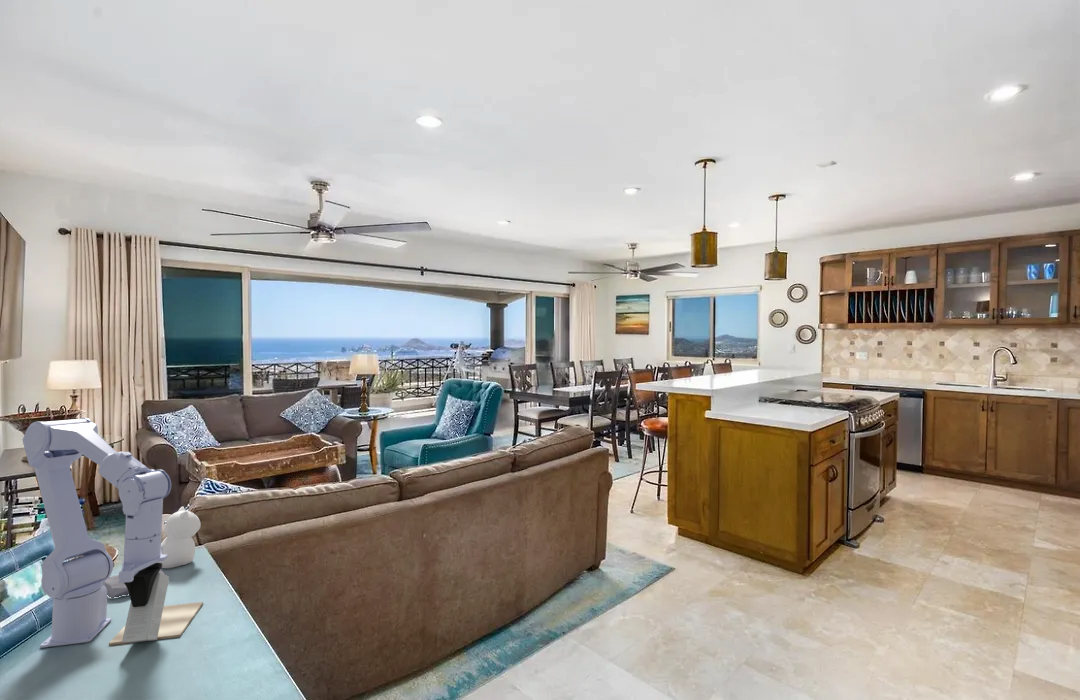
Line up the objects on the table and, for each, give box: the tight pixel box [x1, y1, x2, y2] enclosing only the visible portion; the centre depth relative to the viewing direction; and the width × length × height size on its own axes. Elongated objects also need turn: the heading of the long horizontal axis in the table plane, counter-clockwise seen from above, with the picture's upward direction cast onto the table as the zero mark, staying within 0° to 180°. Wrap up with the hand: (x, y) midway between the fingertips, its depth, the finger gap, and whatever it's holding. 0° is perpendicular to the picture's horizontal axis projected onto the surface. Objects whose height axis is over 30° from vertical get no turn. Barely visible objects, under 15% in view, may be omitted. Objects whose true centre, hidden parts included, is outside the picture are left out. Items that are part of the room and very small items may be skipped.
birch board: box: [108, 601, 204, 646], centre depth 111 cm, size 15×12×1 cm
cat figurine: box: [157, 506, 201, 569], centre depth 142 cm, size 9×12×15 cm
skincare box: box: [122, 573, 170, 644], centre depth 103 cm, size 6×4×12 cm
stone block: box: [104, 569, 165, 598], centre depth 127 cm, size 12×5×10 cm
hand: (140, 605), depth 101 cm, fingers closed
